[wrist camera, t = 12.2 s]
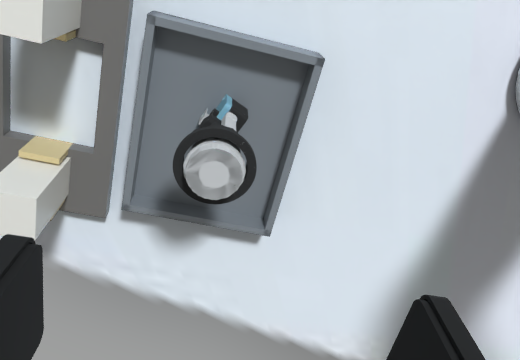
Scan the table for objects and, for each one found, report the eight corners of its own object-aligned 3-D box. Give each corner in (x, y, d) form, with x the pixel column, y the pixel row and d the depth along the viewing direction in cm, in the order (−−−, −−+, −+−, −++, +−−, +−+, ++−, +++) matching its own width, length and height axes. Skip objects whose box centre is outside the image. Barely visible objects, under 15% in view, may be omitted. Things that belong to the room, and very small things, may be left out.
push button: (218, 174, 38) (213, 239, 29) (165, 141, 36) (142, 199, 27) (264, 115, 36) (274, 165, 27) (210, 76, 34) (202, 117, 25)
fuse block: (137, -39, 31) (108, -40, 23) (108, 211, 40) (80, 267, 32) (-14, -80, 29) (-96, -95, 22) (-9, 190, 38) (-66, 244, 31)
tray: (318, 52, 34) (324, 59, 32) (267, 221, 41) (269, 236, 39) (153, 10, 32) (147, 14, 30) (127, 195, 39) (121, 209, 37)
